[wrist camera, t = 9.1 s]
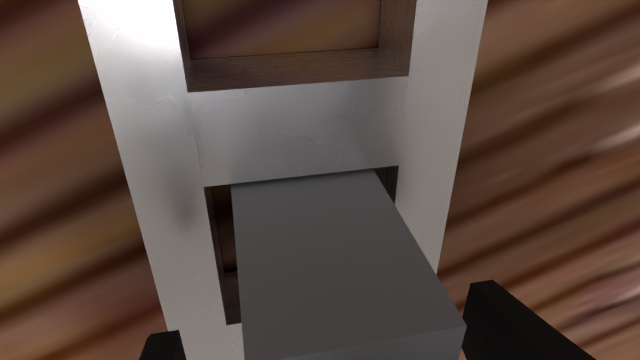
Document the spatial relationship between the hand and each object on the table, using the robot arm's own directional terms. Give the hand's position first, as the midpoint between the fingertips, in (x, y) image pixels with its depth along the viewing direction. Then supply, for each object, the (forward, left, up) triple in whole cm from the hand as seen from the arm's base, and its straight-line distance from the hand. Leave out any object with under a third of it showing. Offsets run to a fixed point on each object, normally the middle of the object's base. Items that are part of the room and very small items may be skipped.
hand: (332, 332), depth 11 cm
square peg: (0, 0, -6) cm, 6 cm away
